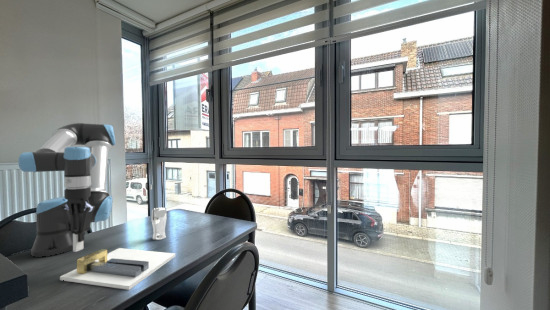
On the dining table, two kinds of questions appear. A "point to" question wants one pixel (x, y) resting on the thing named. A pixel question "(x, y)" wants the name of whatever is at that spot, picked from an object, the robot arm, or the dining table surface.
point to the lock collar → (91, 260)
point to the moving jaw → (130, 263)
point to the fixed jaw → (114, 269)
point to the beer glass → (159, 223)
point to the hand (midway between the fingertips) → (78, 249)
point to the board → (118, 280)
